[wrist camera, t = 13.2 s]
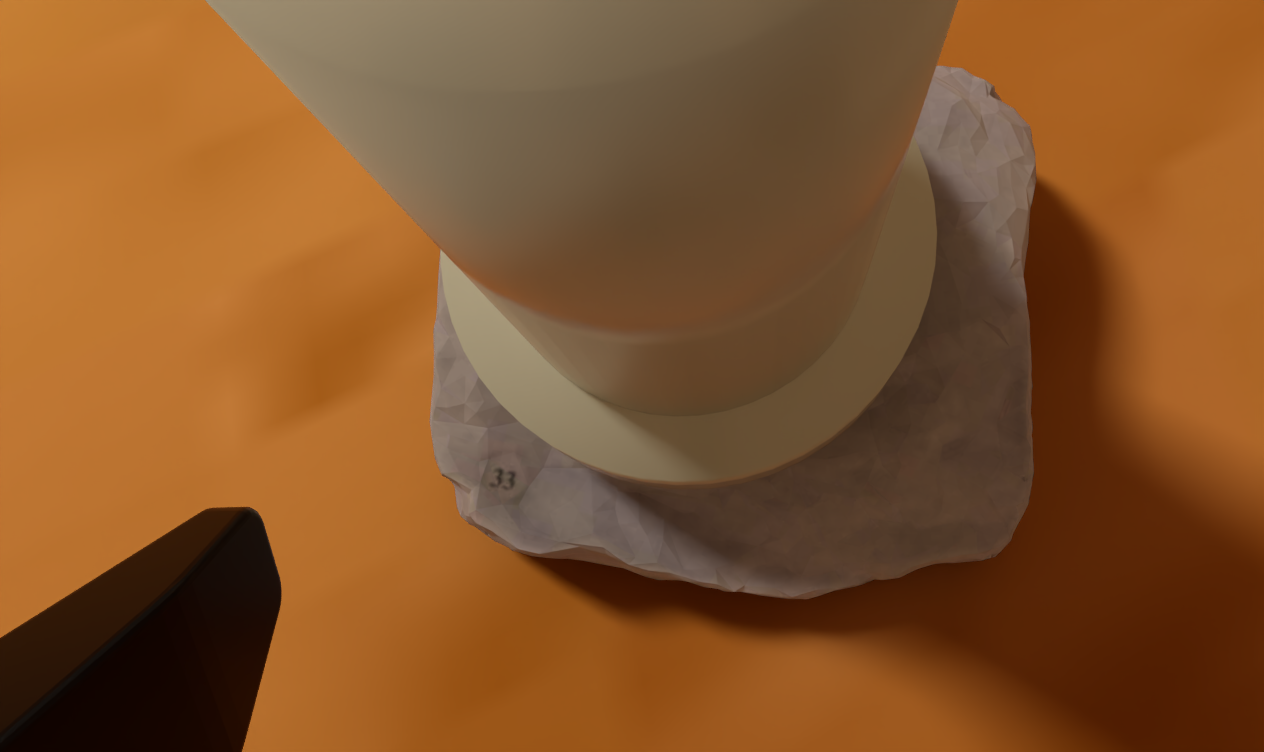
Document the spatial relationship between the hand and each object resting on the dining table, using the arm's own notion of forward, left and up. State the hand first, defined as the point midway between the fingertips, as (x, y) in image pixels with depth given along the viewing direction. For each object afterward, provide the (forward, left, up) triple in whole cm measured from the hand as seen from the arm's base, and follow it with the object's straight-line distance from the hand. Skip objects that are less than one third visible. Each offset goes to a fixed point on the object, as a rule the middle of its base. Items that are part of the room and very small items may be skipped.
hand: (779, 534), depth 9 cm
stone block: (+5, +2, -13) cm, 14 cm away
